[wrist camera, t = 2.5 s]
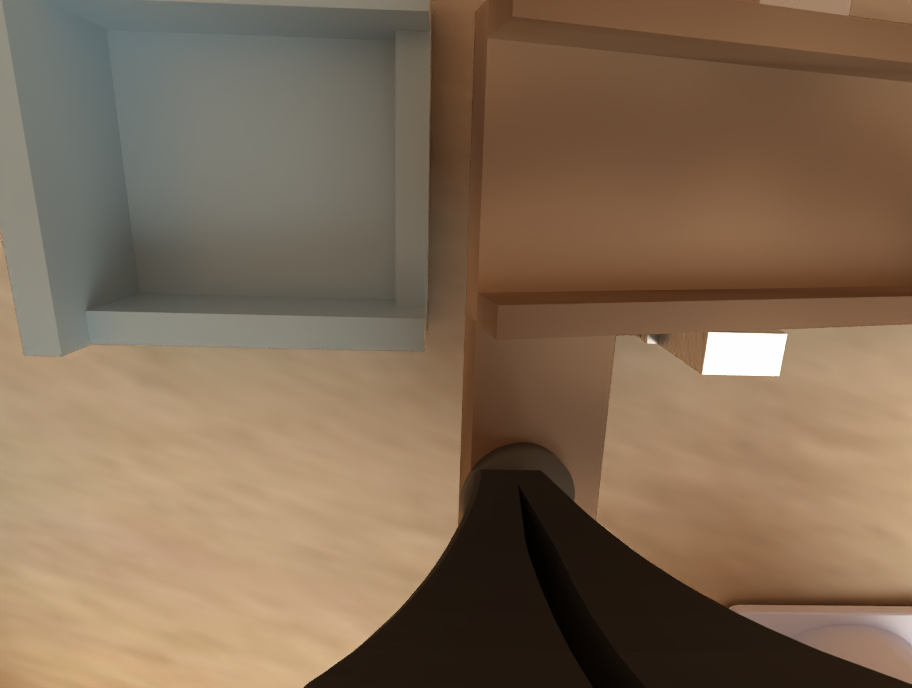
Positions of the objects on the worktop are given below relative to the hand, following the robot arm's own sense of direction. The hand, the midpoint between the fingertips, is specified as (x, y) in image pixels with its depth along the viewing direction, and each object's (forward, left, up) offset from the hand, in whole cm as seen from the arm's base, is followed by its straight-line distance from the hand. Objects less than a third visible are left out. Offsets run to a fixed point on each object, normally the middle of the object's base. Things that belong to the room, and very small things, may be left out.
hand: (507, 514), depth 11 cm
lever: (+4, -7, -4) cm, 9 cm away
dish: (+6, +6, -5) cm, 10 cm away
